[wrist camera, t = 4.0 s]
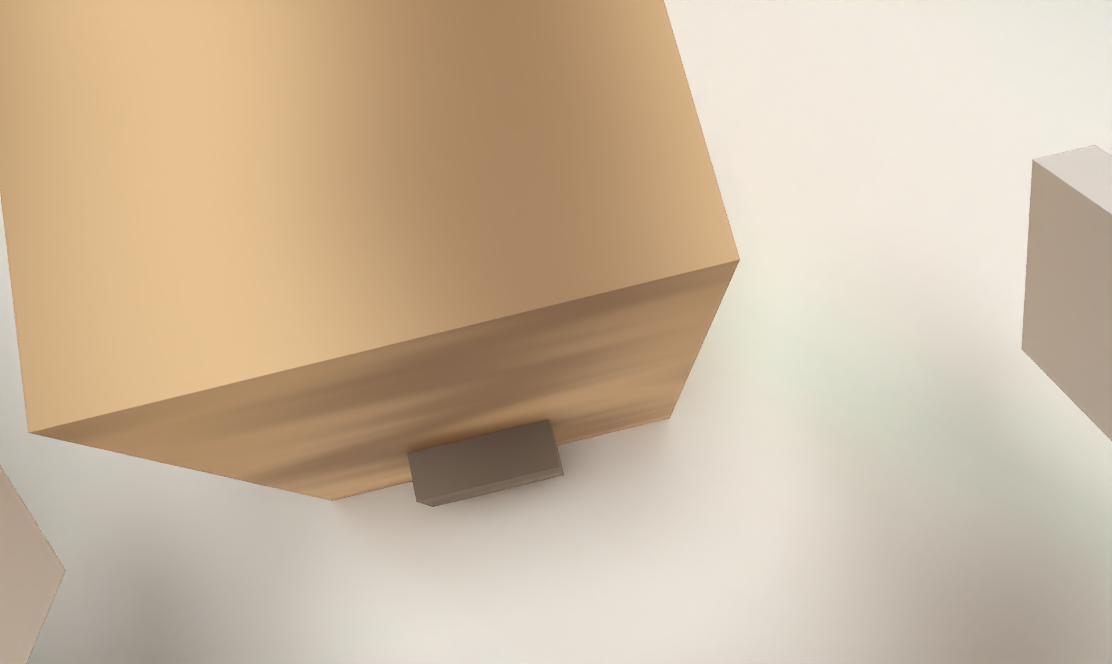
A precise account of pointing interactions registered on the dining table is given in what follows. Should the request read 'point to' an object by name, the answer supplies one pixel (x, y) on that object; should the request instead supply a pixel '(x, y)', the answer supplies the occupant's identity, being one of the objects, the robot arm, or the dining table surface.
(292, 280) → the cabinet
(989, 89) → the dining table surface
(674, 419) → the dining table surface
